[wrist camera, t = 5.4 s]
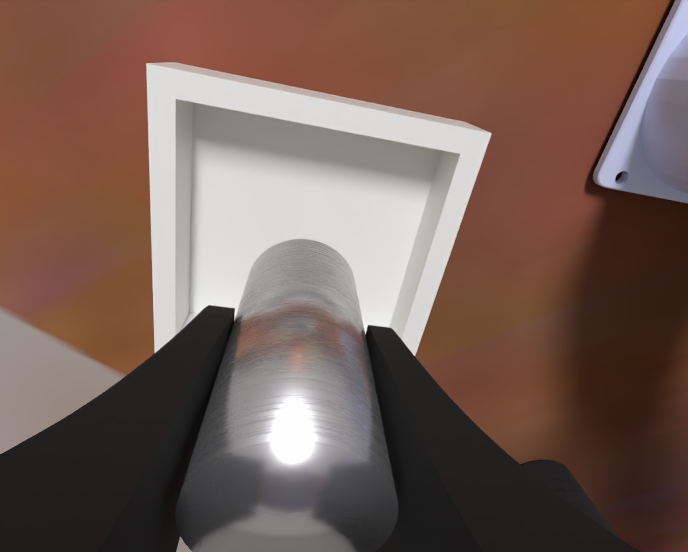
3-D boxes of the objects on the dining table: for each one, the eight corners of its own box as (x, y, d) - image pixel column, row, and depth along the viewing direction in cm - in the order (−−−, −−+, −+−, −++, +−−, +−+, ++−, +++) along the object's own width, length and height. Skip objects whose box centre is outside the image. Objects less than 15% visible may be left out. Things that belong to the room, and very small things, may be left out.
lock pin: (357, 238, 12) (409, 438, 5) (353, 332, 13) (389, 575, 7) (242, 238, 11) (156, 446, 5) (251, 334, 13) (192, 587, 7)
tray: (465, 122, 15) (491, 133, 13) (396, 344, 20) (406, 381, 18) (174, 62, 14) (146, 63, 12) (174, 317, 19) (154, 353, 16)
